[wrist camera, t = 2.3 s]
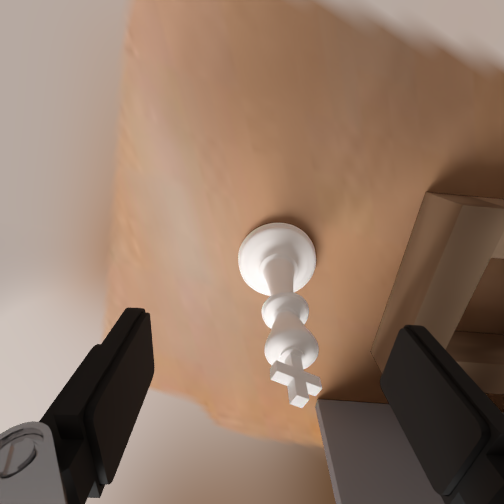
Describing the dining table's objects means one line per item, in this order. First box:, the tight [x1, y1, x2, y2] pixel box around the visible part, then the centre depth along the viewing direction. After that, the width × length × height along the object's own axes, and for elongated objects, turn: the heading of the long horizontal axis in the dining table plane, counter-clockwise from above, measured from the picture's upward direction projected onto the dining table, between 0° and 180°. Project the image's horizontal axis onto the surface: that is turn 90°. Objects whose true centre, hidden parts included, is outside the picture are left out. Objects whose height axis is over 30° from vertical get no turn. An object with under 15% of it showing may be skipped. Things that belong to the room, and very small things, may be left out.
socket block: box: [371, 192, 504, 394], centre depth 17 cm, size 12×12×3 cm
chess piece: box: [238, 223, 322, 408], centre depth 13 cm, size 5×5×10 cm
